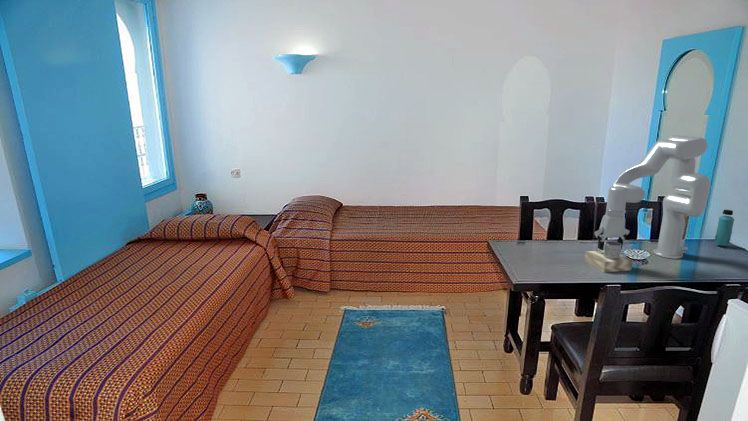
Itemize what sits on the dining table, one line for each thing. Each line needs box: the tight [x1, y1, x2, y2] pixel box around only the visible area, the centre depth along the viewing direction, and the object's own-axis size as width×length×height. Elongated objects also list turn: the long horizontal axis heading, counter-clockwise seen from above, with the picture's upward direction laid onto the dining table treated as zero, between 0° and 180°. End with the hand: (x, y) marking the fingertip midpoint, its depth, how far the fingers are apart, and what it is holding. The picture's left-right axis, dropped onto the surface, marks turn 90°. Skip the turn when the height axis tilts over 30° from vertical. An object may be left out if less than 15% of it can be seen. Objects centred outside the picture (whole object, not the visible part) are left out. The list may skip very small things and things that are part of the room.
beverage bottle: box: [714, 209, 735, 247], centre depth 228 cm, size 6×7×20 cm
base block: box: [584, 250, 633, 273], centre depth 204 cm, size 14×14×5 cm
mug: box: [597, 240, 622, 259], centre depth 202 cm, size 10×7×7 cm, turn 32°
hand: (609, 248), depth 202 cm, fingers open, 9 cm apart
